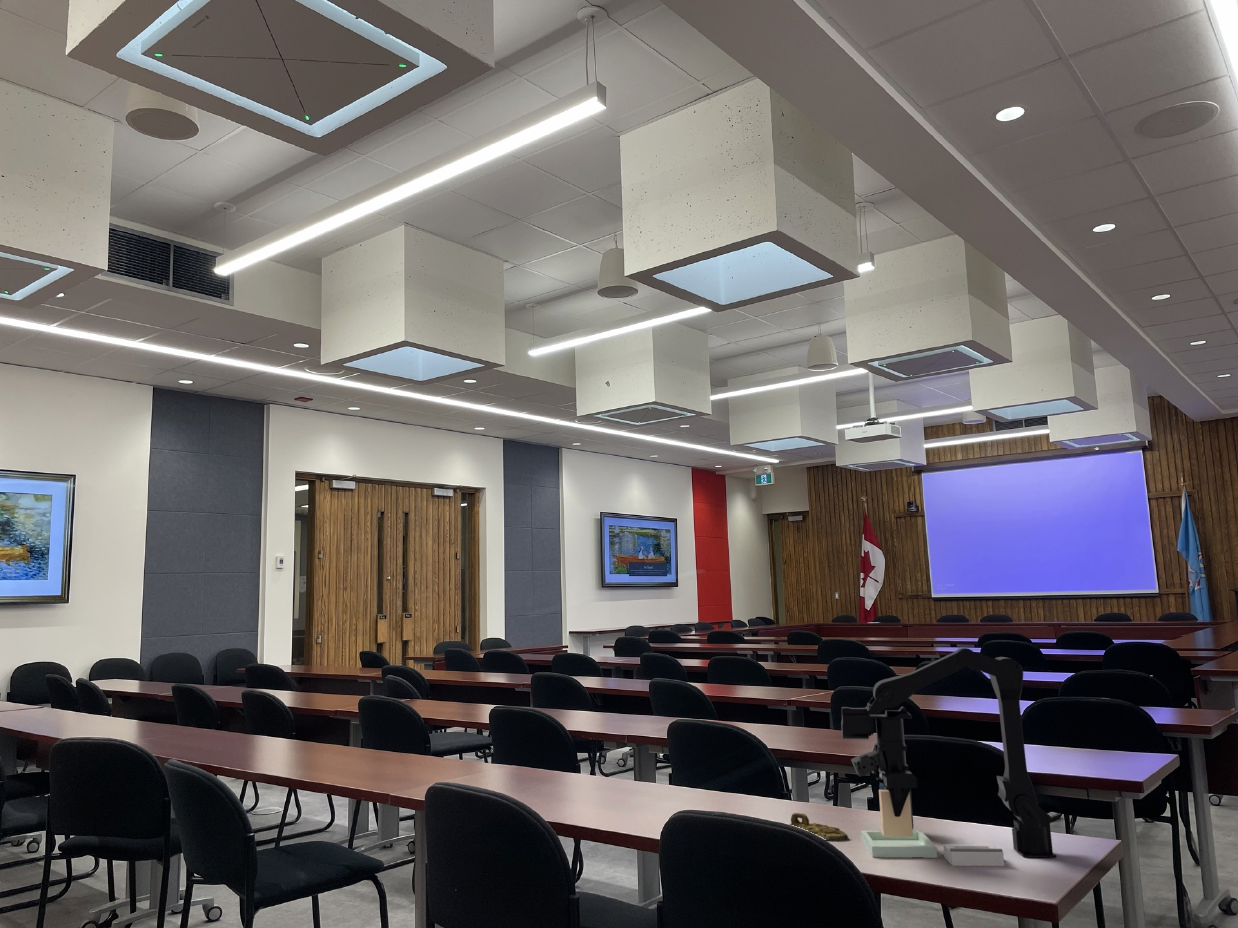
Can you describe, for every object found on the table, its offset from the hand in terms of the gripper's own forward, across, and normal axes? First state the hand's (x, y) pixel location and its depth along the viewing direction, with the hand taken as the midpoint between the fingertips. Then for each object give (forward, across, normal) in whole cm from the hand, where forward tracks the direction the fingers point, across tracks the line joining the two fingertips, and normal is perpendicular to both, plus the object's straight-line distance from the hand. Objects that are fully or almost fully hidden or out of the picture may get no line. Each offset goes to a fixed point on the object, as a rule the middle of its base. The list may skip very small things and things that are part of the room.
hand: (896, 814), depth 185 cm
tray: (+7, 0, 0) cm, 7 cm away
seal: (+7, -12, -15) cm, 21 cm away
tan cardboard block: (+4, 0, 0) cm, 4 cm away
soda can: (+7, -14, +3) cm, 16 cm away
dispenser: (+7, +9, +13) cm, 17 cm away
